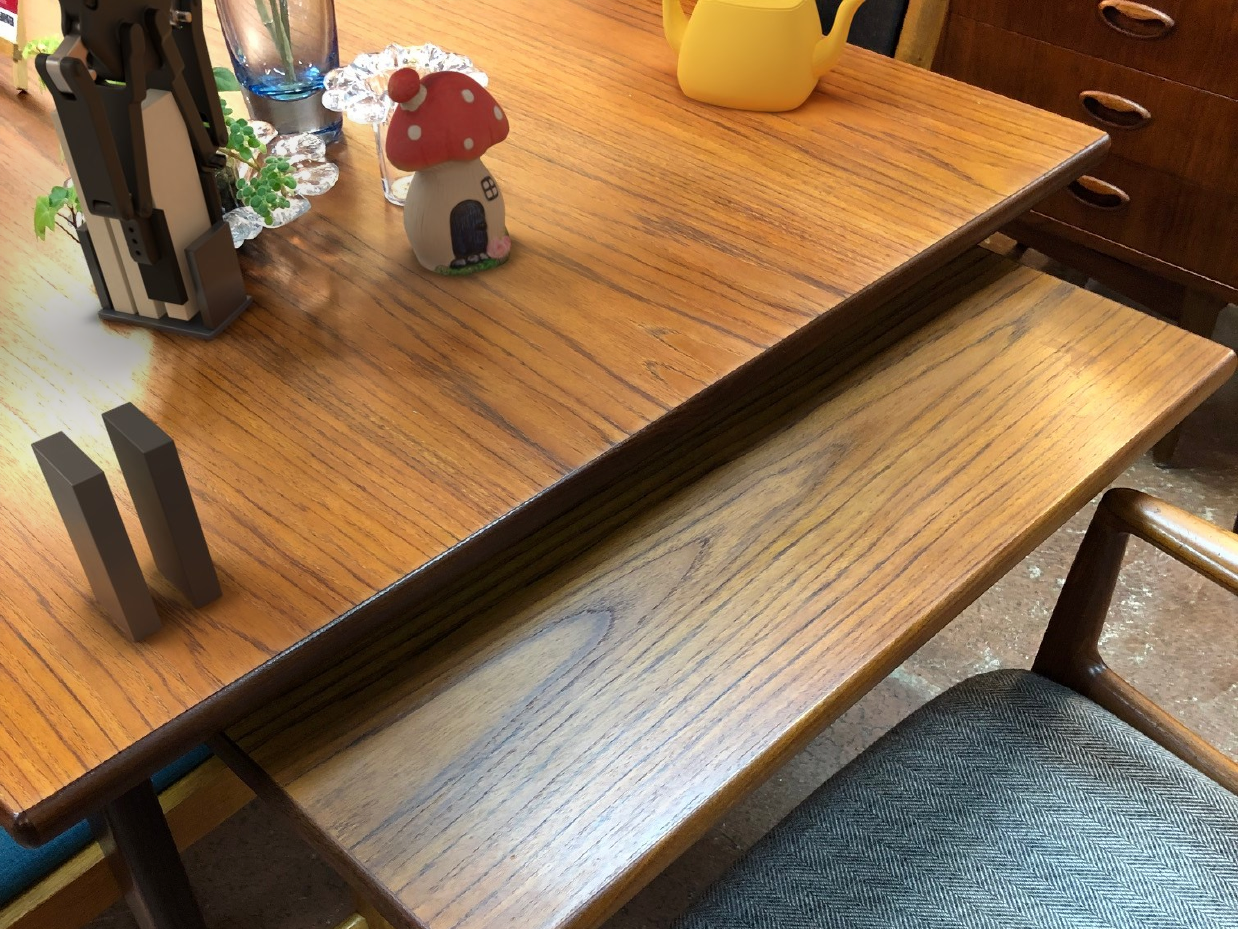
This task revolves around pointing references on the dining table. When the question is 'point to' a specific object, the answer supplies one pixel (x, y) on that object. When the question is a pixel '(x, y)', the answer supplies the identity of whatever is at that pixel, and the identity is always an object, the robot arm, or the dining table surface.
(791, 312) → the dining table surface
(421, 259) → the decorative ornament
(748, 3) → the teapot
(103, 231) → the shelved white books
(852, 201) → the dining table surface
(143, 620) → the pair of brown blocks
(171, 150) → the white book
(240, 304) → the book rack
